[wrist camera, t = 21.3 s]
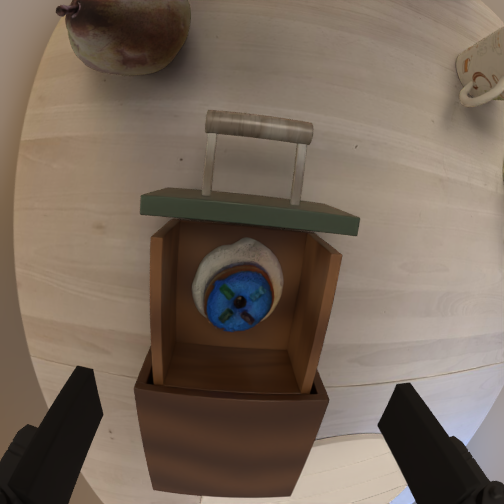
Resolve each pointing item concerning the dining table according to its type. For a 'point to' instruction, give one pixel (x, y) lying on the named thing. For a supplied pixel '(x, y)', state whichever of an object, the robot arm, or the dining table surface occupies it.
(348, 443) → the lazy susan
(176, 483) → the cabinet
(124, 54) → the fruit
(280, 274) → the dessert
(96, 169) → the dining table surface
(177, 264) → the drawer
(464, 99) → the mug
